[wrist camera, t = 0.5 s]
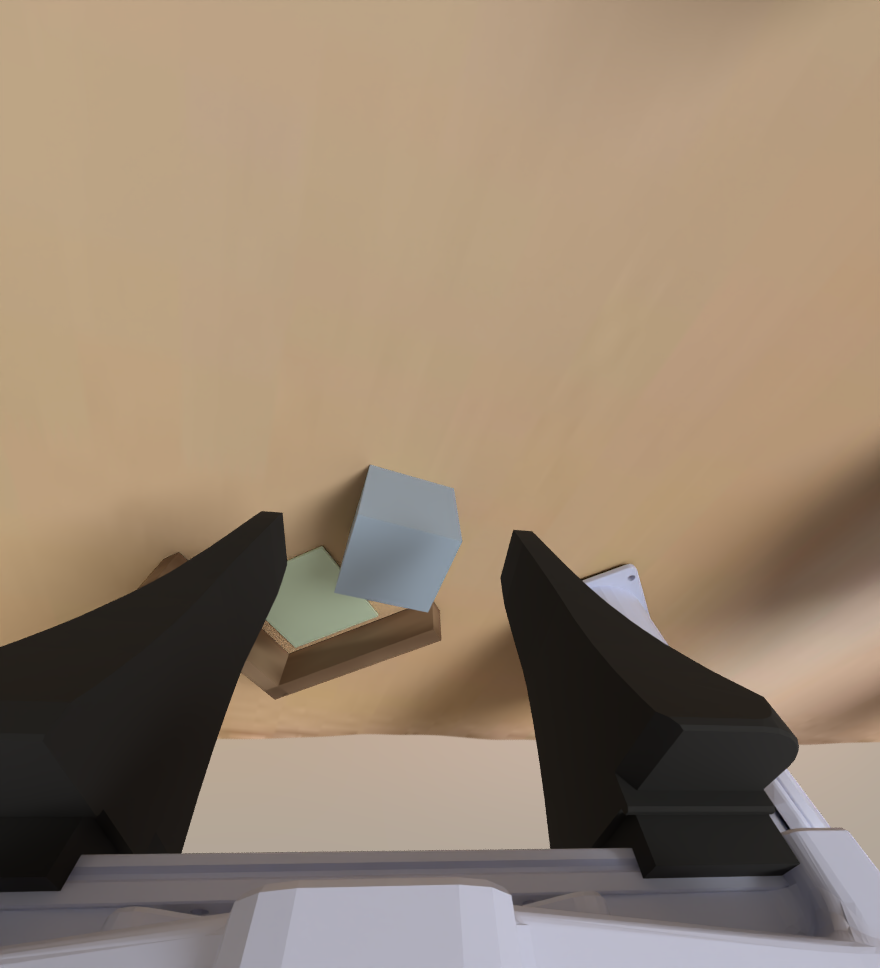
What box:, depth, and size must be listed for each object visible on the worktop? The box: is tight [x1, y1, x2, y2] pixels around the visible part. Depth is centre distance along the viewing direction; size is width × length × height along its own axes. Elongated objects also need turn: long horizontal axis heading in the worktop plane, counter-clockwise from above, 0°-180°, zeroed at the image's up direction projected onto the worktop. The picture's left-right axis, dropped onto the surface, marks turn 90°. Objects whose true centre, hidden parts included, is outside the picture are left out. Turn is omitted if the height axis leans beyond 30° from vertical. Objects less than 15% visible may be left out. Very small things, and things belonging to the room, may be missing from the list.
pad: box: [266, 546, 379, 648], centre depth 26 cm, size 7×7×1 cm
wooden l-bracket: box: [138, 552, 441, 699], centre depth 24 cm, size 12×13×2 cm
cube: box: [334, 465, 462, 612], centre depth 21 cm, size 5×5×5 cm
